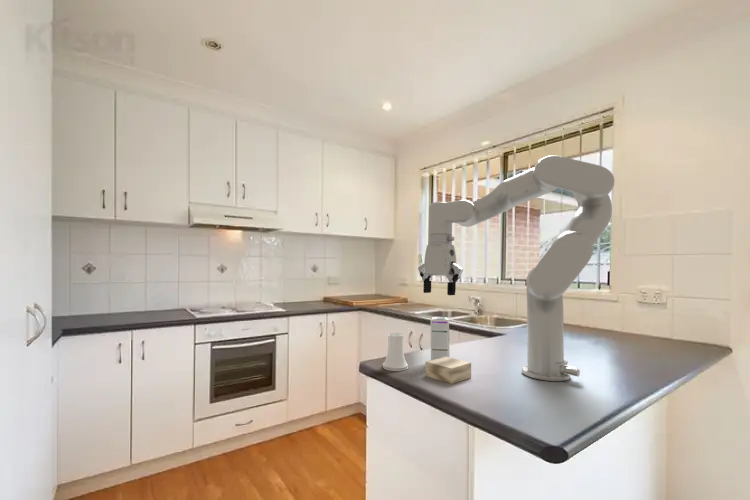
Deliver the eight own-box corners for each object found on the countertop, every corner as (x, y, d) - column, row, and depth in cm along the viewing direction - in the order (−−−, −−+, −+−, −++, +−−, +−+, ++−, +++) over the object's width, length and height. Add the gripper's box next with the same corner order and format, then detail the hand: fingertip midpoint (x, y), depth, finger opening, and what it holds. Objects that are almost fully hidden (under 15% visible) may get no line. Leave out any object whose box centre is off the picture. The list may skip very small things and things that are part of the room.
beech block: (471, 377, 101) (471, 362, 101) (451, 383, 95) (451, 368, 95) (445, 370, 108) (445, 356, 108) (425, 375, 102) (425, 361, 102)
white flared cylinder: (392, 363, 115) (393, 331, 116) (412, 367, 111) (412, 334, 111) (377, 367, 110) (378, 334, 110) (398, 372, 105) (398, 337, 105)
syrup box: (449, 366, 112) (449, 319, 112) (430, 365, 113) (430, 318, 113) (449, 362, 117) (449, 317, 118) (431, 361, 118) (431, 316, 119)
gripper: (469, 240, 113) (468, 295, 112) (426, 242, 126) (425, 291, 125) (455, 239, 108) (454, 296, 107) (412, 240, 121) (411, 292, 120)
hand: (438, 293), depth 116 cm, fingers open, 9 cm apart
